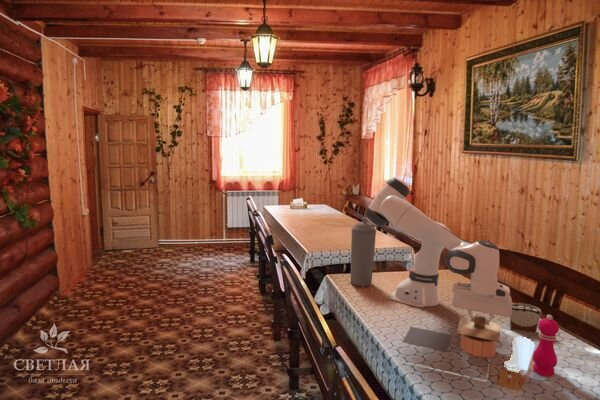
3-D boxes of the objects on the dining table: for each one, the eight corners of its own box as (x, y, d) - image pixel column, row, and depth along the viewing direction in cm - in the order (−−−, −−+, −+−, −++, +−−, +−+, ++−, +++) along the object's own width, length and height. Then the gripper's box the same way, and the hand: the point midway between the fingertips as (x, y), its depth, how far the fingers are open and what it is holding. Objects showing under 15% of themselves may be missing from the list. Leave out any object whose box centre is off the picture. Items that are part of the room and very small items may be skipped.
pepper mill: (526, 366, 156) (532, 310, 154) (546, 366, 157) (553, 310, 154) (539, 377, 149) (546, 319, 146) (560, 377, 150) (567, 319, 147)
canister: (345, 279, 244) (349, 215, 239) (368, 279, 247) (372, 215, 242) (352, 287, 232) (356, 220, 227) (376, 287, 234) (380, 220, 229)
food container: (537, 328, 189) (540, 305, 187) (539, 334, 183) (542, 310, 182) (505, 323, 193) (507, 300, 191) (506, 329, 187) (508, 305, 186)
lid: (456, 332, 163) (457, 320, 162) (460, 319, 175) (462, 307, 175) (499, 341, 157) (500, 328, 156) (500, 326, 169) (501, 314, 169)
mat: (402, 343, 171) (402, 342, 171) (410, 327, 185) (410, 326, 185) (446, 353, 164) (446, 351, 164) (452, 336, 179) (452, 334, 179)
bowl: (458, 353, 164) (460, 337, 164) (462, 340, 175) (463, 325, 174) (494, 361, 159) (496, 344, 159) (496, 347, 170) (497, 332, 169)
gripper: (451, 283, 165) (448, 320, 167) (514, 293, 157) (510, 332, 159) (454, 279, 171) (451, 314, 173) (514, 288, 162) (510, 325, 164)
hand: (479, 323), depth 166 cm, fingers closed on lid, 4 cm apart
